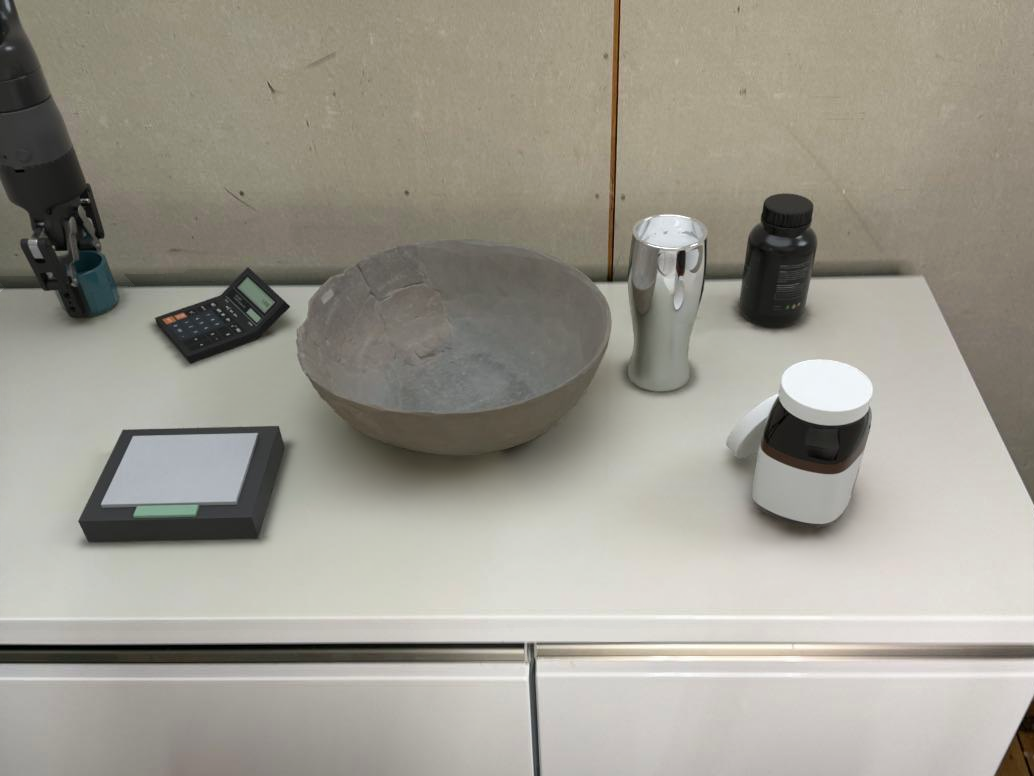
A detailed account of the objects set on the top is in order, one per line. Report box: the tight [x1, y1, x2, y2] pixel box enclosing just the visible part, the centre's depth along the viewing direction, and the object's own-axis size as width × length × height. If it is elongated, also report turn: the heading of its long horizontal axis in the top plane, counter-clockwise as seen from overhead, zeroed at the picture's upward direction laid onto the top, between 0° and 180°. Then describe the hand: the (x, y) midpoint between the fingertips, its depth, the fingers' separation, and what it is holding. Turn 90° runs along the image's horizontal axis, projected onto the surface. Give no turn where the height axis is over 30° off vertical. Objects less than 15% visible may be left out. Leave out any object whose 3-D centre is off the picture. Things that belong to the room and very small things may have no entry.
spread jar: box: [725, 358, 874, 528], centre depth 78 cm, size 12×11×12 cm
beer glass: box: [627, 213, 709, 393], centre depth 89 cm, size 7×7×15 cm
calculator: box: [154, 266, 291, 365], centre depth 101 cm, size 9×12×3 cm
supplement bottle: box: [738, 192, 818, 328], centre depth 98 cm, size 7×7×12 cm
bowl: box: [295, 238, 613, 457], centre depth 88 cm, size 28×28×10 cm
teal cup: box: [47, 250, 120, 318], centre depth 104 cm, size 6×6×5 cm
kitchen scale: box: [77, 425, 285, 543], centre depth 82 cm, size 14×12×3 cm
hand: (90, 299), depth 105 cm, fingers closed on teal cup, 6 cm apart
